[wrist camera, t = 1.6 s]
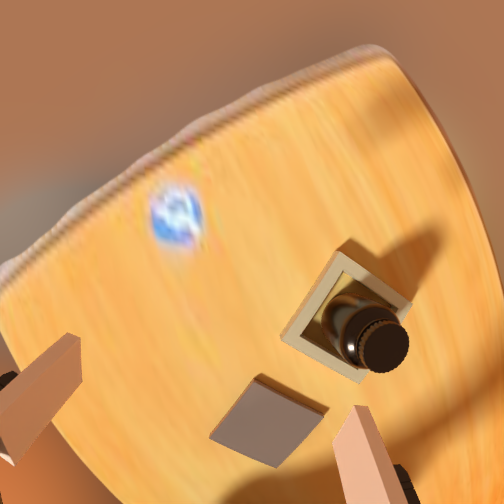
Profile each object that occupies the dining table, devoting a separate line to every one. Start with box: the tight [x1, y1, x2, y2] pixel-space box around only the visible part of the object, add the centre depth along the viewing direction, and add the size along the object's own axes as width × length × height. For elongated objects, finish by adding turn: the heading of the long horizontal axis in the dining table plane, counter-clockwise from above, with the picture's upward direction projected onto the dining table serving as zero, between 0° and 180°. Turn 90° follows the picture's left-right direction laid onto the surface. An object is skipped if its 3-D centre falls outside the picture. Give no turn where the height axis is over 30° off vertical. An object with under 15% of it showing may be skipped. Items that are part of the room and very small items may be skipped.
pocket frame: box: [280, 251, 413, 384], centre depth 35 cm, size 12×12×2 cm
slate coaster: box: [209, 378, 324, 468], centre depth 36 cm, size 11×11×1 cm
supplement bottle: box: [321, 293, 409, 373], centre depth 30 cm, size 7×7×12 cm
